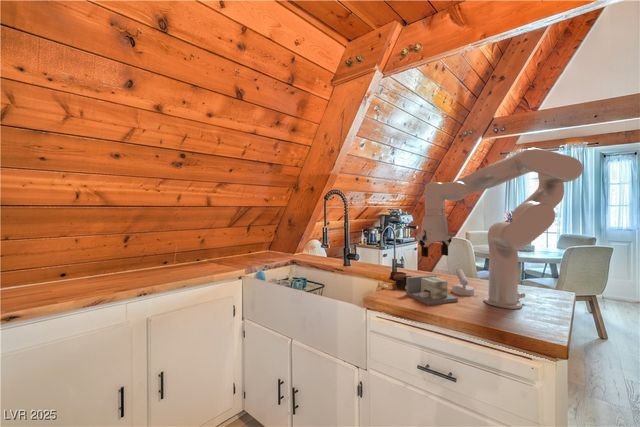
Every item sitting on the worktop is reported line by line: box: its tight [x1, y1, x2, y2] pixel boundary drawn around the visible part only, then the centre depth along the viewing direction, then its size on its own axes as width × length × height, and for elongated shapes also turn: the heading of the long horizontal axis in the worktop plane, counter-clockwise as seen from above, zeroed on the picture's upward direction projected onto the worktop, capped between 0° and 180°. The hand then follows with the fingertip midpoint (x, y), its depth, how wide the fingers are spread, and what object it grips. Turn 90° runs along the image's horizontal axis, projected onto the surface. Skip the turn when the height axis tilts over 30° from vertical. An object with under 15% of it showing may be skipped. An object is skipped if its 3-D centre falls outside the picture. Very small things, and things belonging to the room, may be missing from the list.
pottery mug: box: [388, 271, 413, 290], centre depth 135 cm, size 12×10×8 cm
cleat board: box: [405, 274, 459, 306], centre depth 119 cm, size 14×14×8 cm
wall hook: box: [451, 268, 475, 297], centre depth 128 cm, size 9×10×10 cm
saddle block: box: [421, 276, 448, 299], centre depth 117 cm, size 6×8×6 cm
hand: (434, 255), depth 117 cm, fingers open, 9 cm apart
